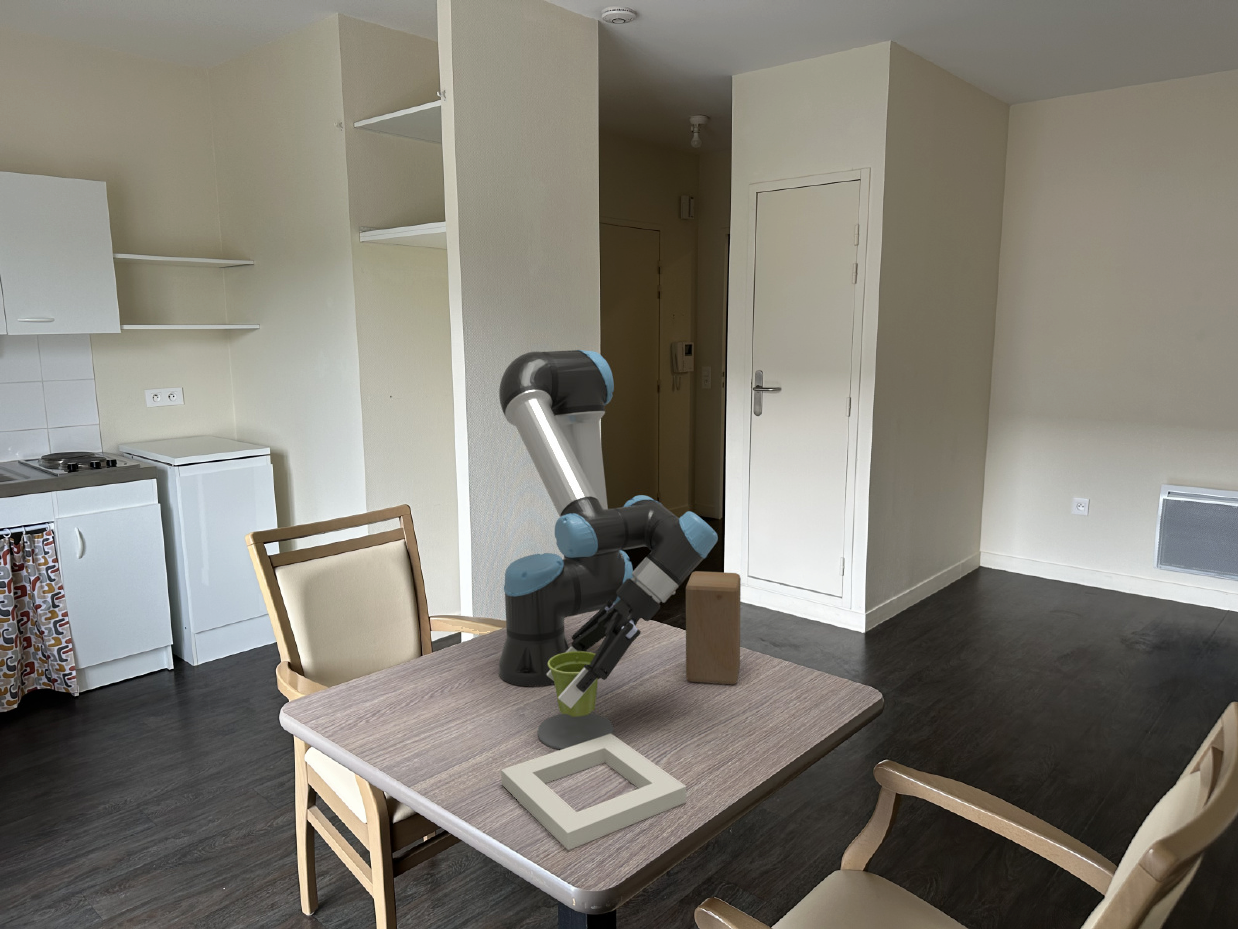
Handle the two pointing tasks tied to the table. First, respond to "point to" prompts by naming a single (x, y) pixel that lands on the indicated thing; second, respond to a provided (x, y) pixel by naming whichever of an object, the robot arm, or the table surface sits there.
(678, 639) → the table surface
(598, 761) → the well board
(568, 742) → the mat
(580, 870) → the table surface
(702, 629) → the wooden block
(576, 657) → the plant pot
